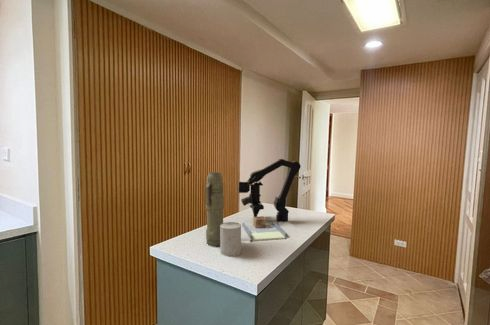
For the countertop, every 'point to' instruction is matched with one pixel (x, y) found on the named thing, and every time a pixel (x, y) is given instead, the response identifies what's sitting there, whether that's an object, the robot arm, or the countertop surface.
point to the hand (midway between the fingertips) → (255, 217)
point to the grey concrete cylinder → (230, 239)
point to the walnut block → (259, 222)
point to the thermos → (214, 207)
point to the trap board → (265, 232)
